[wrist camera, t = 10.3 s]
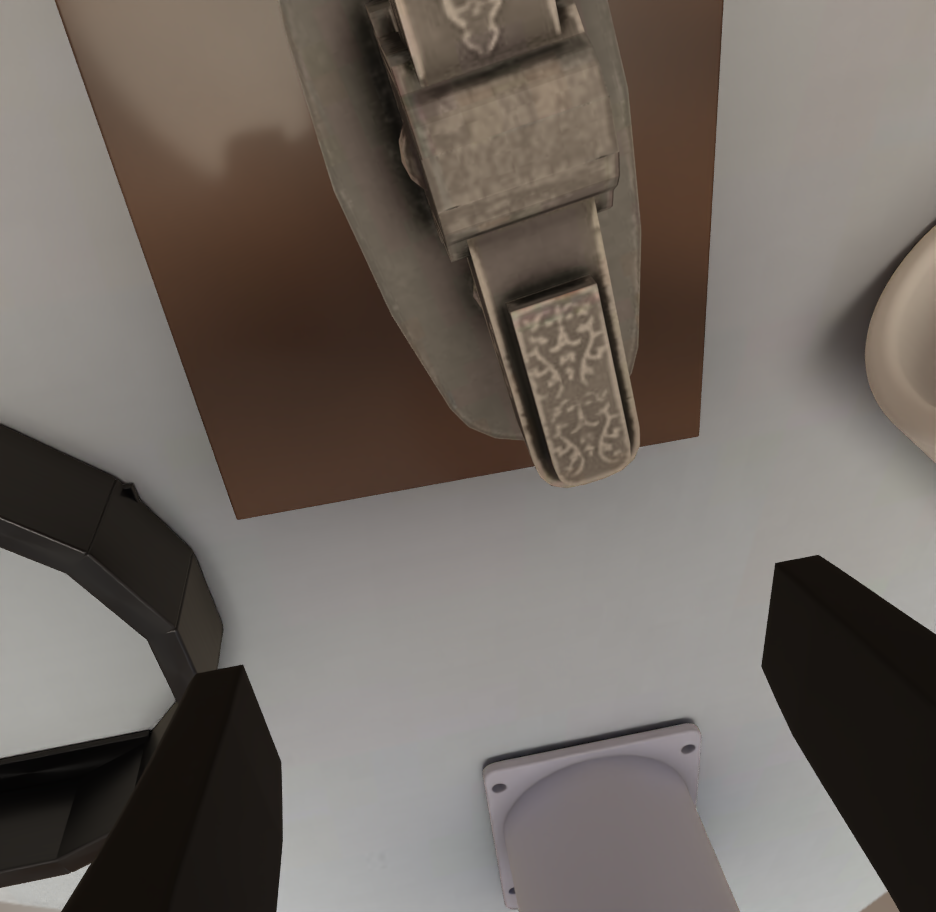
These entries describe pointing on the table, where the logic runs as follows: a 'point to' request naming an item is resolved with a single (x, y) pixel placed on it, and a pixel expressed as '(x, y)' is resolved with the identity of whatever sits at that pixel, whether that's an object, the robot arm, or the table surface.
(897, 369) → the mug
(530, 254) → the lighter
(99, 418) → the table surface
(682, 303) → the board
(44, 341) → the table surface
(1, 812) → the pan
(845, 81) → the table surface
